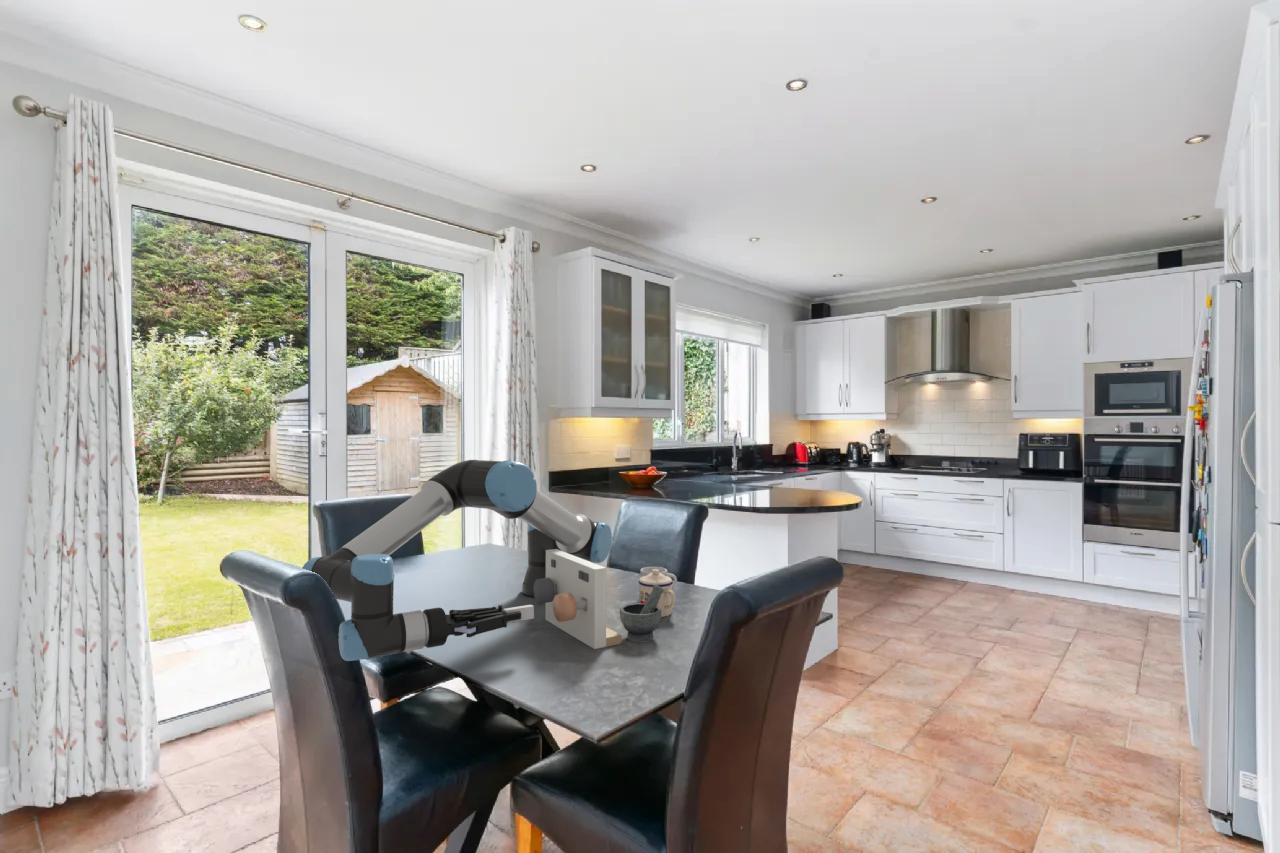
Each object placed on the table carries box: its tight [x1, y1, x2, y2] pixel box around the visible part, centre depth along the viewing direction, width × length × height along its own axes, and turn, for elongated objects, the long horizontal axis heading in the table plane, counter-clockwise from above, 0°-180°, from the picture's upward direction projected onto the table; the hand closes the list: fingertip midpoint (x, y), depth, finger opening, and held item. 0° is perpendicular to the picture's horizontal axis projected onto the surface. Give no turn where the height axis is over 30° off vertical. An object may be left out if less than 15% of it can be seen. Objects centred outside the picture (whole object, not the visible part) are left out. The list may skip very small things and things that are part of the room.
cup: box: [639, 566, 678, 591], centre depth 192 cm, size 11×8×8 cm
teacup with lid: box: [638, 569, 677, 618], centre depth 175 cm, size 12×9×12 cm
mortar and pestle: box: [619, 585, 664, 643], centre depth 156 cm, size 11×9×12 cm
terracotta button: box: [553, 593, 587, 622], centre depth 151 cm, size 10×6×6 cm, turn 123°
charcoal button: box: [533, 578, 557, 605], centre depth 166 cm, size 10×6×6 cm, turn 123°
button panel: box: [545, 549, 622, 650], centre depth 161 cm, size 7×26×18 cm, turn 33°
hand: (532, 611), depth 145 cm, fingers closed
